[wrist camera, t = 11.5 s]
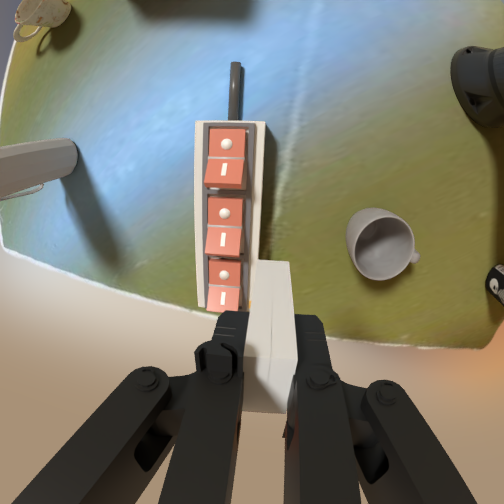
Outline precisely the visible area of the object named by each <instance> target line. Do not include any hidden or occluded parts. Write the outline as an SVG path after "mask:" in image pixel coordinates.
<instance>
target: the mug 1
mask: <svg viewBox="0 0 504 504" xmlns="http://www.w3.org/2000/svg"><path fill="white" fill-rule="evenodd" d="M70 11H71V5H70V3H68V2H67V1H66V0H22V2H21V3H20V5H19V7H18V9H17V11H16V15H15V21H16V23H17V24H18V26H17V27H16V29H15V31H14V34H13V35H14V39H15V40H16V41H17V42H24V41H27V40H29V39H31V38H32V37H34V36H35V35H36V34H37V33H38V32H39V31H40V30H41V28H42V27H43V26H44V27H57V26H59V25H60V24H62V23H63V22H64V21H65V20H66V18H67V17H68V15H69V13H70ZM23 25H34V26H39V27H38V29H37V30H36V31H35V32H34V33H32V34H31V35H29V36H26V37H21V36H20V35H19V31H20V29H21V28H22V26H23Z"/></svg>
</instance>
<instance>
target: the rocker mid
mask: <svg viewBox="0 0 504 504" xmlns="http://www.w3.org/2000/svg"><path fill="white" fill-rule="evenodd" d="M242 220H243V198H235V197H212V196H210V197H209V198H208V224H207V228H208V231H207V239H206V247H205V254H206V255H212V256H226V257H240V246H241V235H242V229H243V225H242V224H243V221H242Z"/></svg>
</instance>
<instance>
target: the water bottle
mask: <svg viewBox="0 0 504 504" xmlns="http://www.w3.org/2000/svg"><path fill="white" fill-rule="evenodd" d="M77 157H78V153H77V149H76V146H75V144H74V143H73V142H72V141H71V140H70V139H68V138H56V139H48V140H40V141H33V142H26V143H20V144H14V145H8V146H3V147H0V201H3V200H7V199H11V198H15V197H20V196H24V195H29V194H33V193H35V192H37V191H39V190H41V189H42V188H43V185H44V184H43V183H45V182H48V181H52V180H55V179H58V178H62V177H65V176H67V175H69V174H71V173H72V171H73V169H74V168H75V166H76V164H77ZM39 184H40V186H39V187H38V188H36V189H34V190H32V191H28V192H24V193H19V194H15V195H11V196H7V195H10V194H13V193H15V192H18V191H21V190H24V189H27V188H30V187H33V186H36V185H39ZM5 196H7V197H5ZM2 197H3V198H2Z"/></svg>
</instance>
